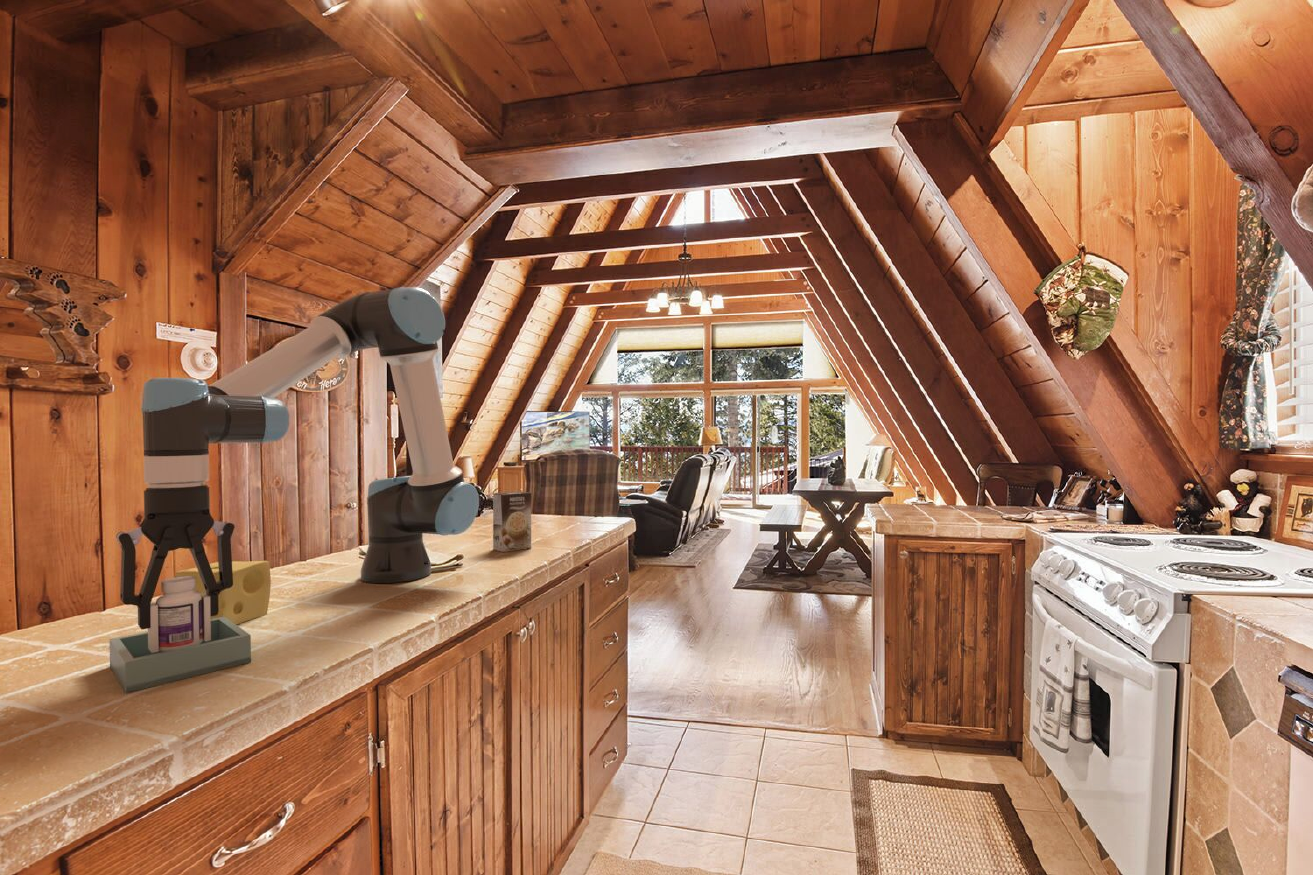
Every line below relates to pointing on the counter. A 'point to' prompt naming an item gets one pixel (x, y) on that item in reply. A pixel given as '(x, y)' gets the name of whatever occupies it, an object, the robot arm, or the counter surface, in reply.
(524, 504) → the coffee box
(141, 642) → the tray
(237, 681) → the counter surface
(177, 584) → the pill bottle
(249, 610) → the cheese
